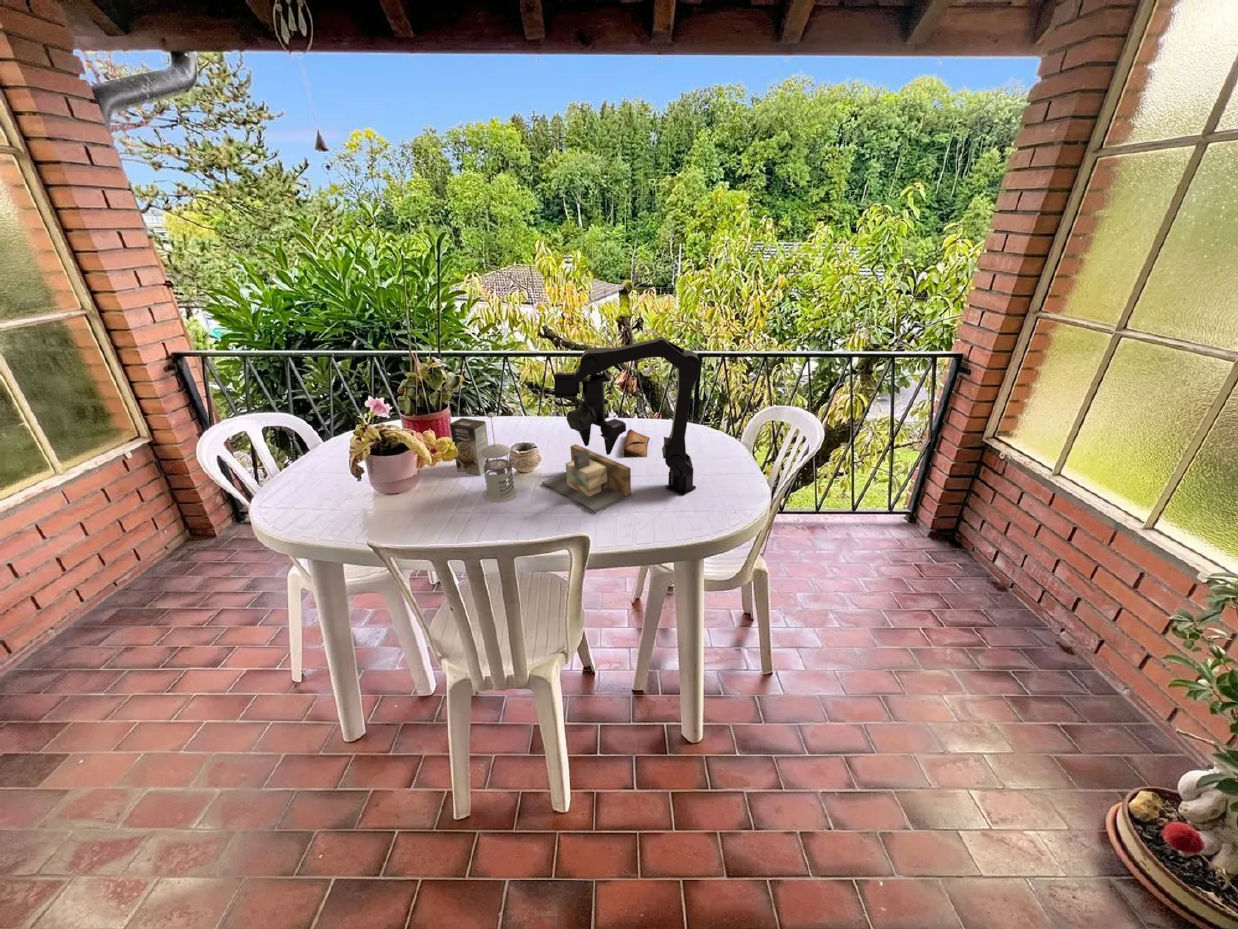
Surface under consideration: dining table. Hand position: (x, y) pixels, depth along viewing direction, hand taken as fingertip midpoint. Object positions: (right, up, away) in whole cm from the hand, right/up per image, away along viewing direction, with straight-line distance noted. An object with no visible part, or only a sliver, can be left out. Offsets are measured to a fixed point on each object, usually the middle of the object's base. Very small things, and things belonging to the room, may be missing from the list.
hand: (597, 450), depth 146 cm
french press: (-28, -12, +5) cm, 31 cm away
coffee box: (-40, -6, +19) cm, 45 cm away
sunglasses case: (+12, +1, +33) cm, 36 cm away
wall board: (-3, -12, +5) cm, 13 cm away
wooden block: (-3, -10, +5) cm, 12 cm away
